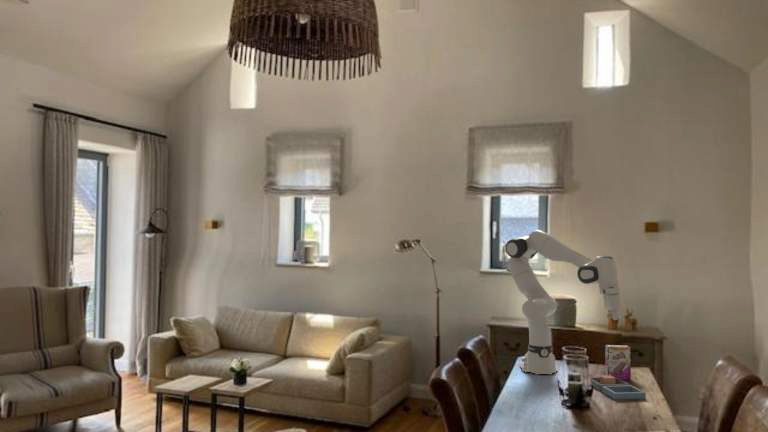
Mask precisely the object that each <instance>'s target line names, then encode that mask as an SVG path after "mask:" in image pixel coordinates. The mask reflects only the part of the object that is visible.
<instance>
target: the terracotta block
mask: <svg viewBox="0 0 768 432" xmlns="http://www.w3.org/2000/svg"><path fill="white" fill-rule="evenodd" d="M599 377H600V384H601V385H602V384H616V383H615V378H614V377H613V376H611V375H603V374H602V375H600V376H599Z"/></svg>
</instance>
